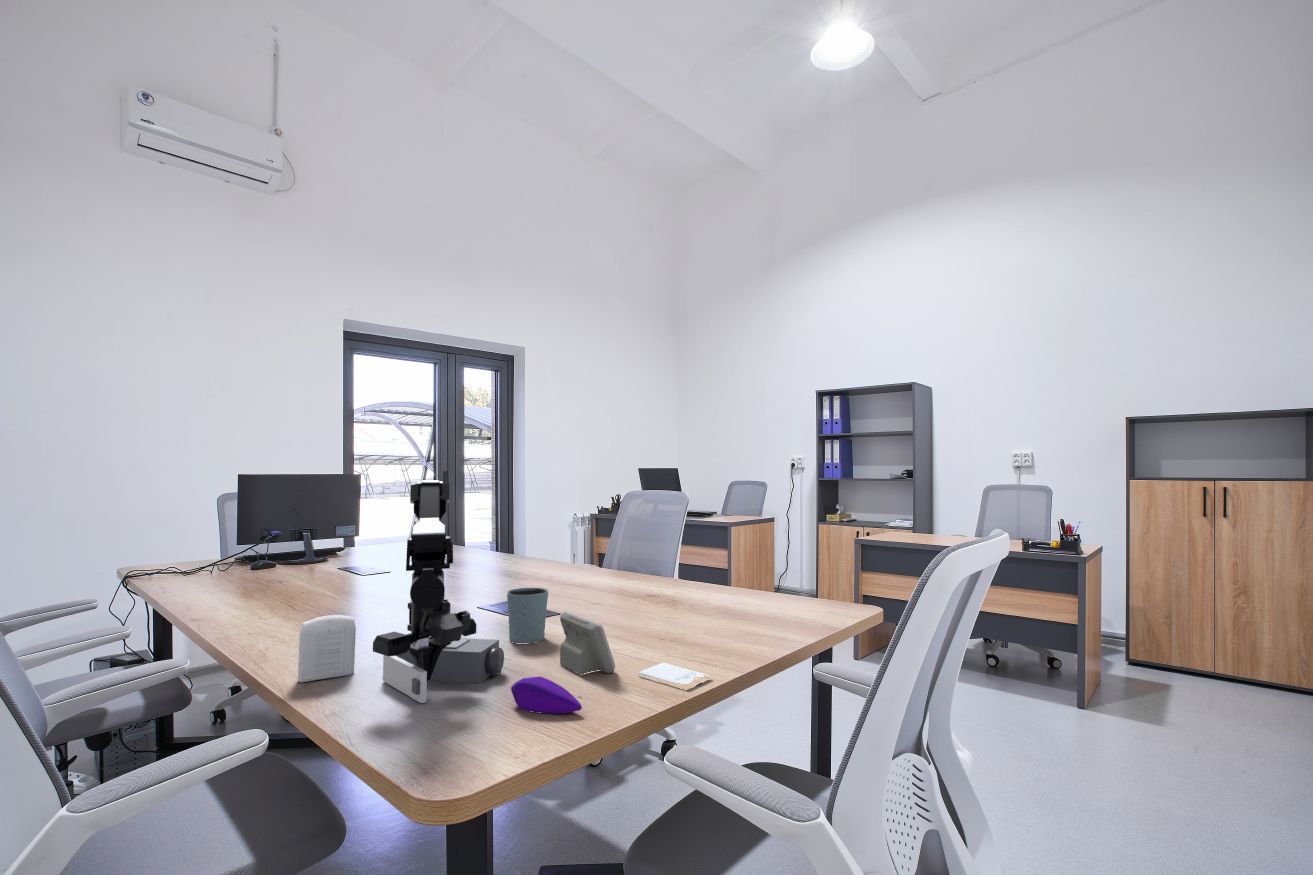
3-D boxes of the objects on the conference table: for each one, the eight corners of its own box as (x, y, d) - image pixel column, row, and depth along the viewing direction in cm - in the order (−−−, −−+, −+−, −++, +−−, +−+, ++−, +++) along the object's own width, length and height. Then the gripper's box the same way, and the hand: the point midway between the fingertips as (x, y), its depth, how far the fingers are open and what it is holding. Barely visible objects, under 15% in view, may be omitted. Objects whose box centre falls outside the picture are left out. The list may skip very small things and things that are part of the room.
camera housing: (412, 663, 131) (412, 634, 131) (507, 668, 128) (508, 638, 128) (387, 677, 122) (388, 646, 123) (489, 683, 119) (490, 651, 119)
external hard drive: (664, 669, 129) (711, 682, 121) (638, 679, 123) (686, 694, 114) (664, 661, 129) (711, 673, 121) (638, 671, 123) (686, 685, 115)
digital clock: (618, 675, 124) (618, 622, 124) (576, 681, 120) (576, 627, 120) (592, 653, 138) (592, 606, 139) (554, 658, 134) (554, 611, 135)
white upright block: (353, 669, 128) (354, 610, 129) (355, 674, 124) (357, 614, 125) (297, 678, 122) (298, 617, 123) (298, 684, 119) (300, 621, 119)
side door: (389, 678, 121) (390, 650, 122) (428, 700, 109) (429, 670, 110) (378, 680, 120) (379, 653, 120) (417, 704, 108) (418, 673, 108)
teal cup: (499, 644, 146) (500, 594, 147) (516, 632, 156) (516, 586, 157) (539, 645, 144) (539, 595, 145) (553, 634, 154) (553, 587, 155)
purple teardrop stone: (575, 698, 101) (504, 677, 107) (573, 727, 101) (501, 704, 107) (590, 689, 106) (520, 669, 112) (587, 716, 105) (517, 695, 112)
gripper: (407, 612, 102) (405, 706, 101) (494, 593, 117) (494, 674, 116) (371, 604, 108) (370, 692, 108) (459, 587, 124) (458, 664, 123)
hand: (426, 680), depth 113 cm, fingers closed
